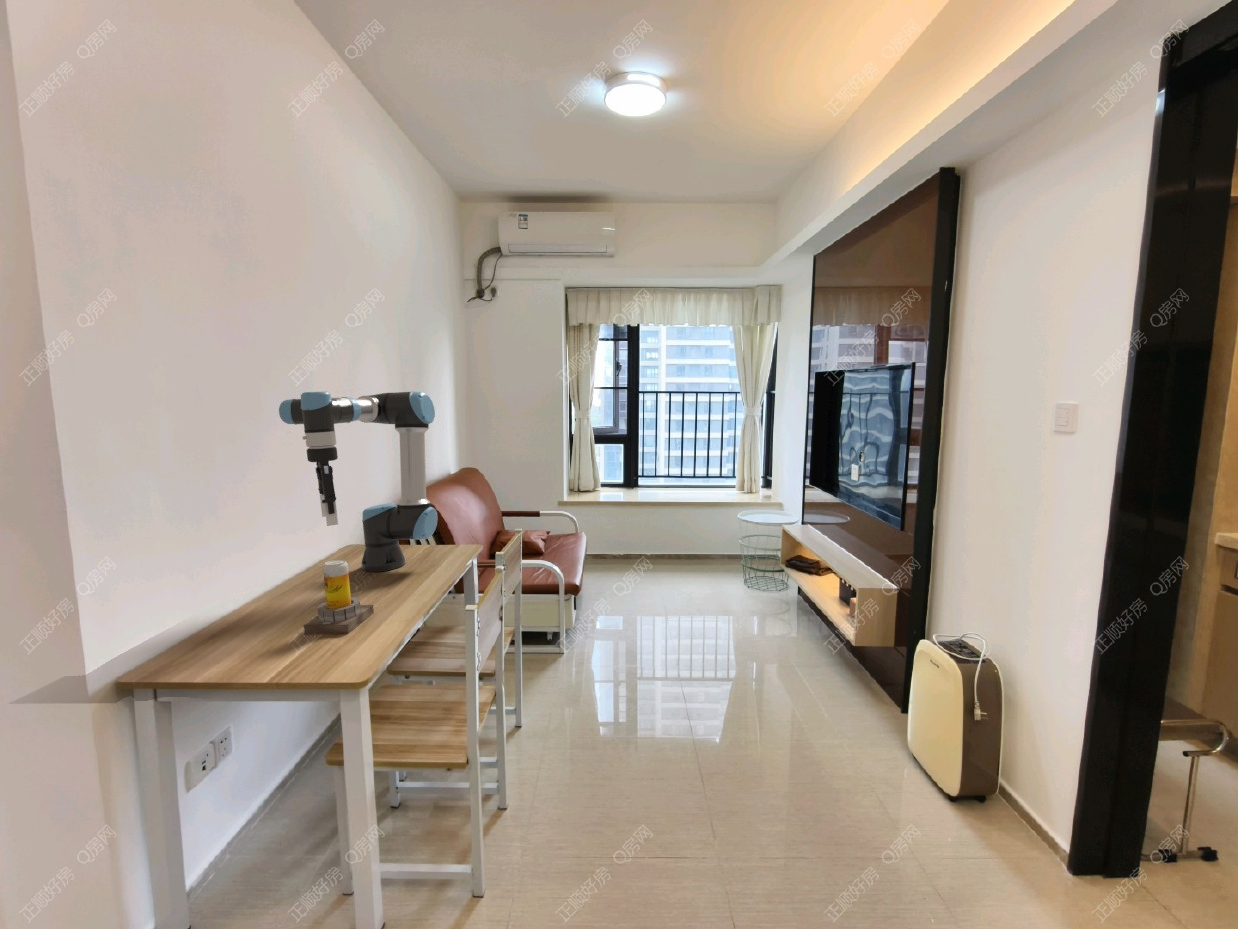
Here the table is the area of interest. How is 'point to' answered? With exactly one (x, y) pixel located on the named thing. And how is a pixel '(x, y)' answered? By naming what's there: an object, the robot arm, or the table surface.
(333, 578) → the beer can
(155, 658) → the table surface
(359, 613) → the cup holder
